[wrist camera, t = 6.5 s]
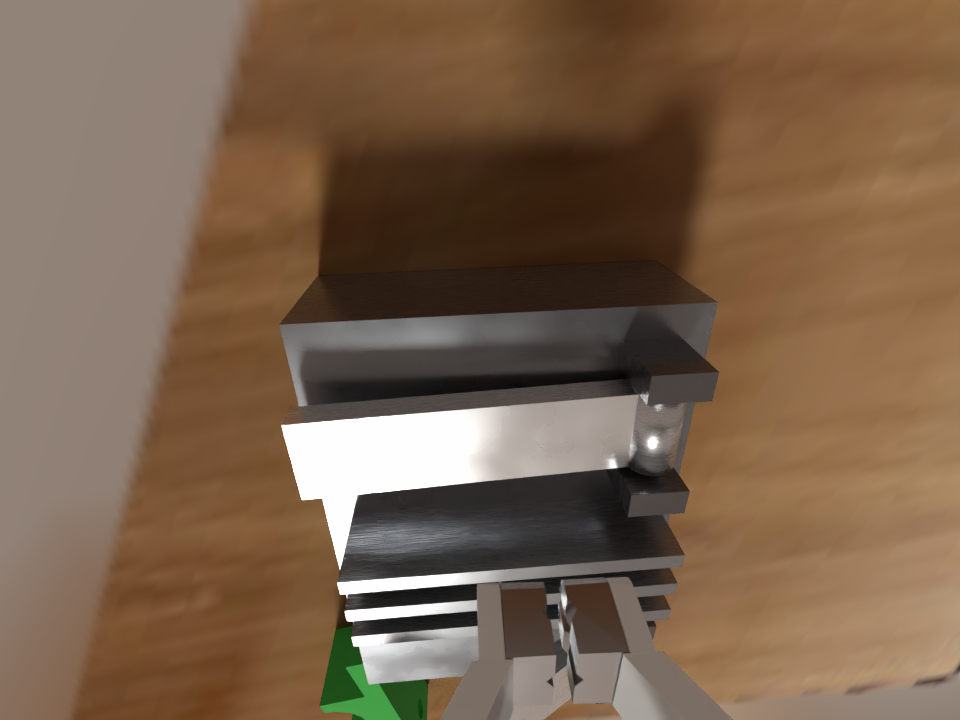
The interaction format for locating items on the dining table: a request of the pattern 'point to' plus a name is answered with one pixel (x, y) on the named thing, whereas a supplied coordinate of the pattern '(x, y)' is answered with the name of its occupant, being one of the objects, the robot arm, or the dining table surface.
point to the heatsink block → (509, 502)
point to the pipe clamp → (367, 688)
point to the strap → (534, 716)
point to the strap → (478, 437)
